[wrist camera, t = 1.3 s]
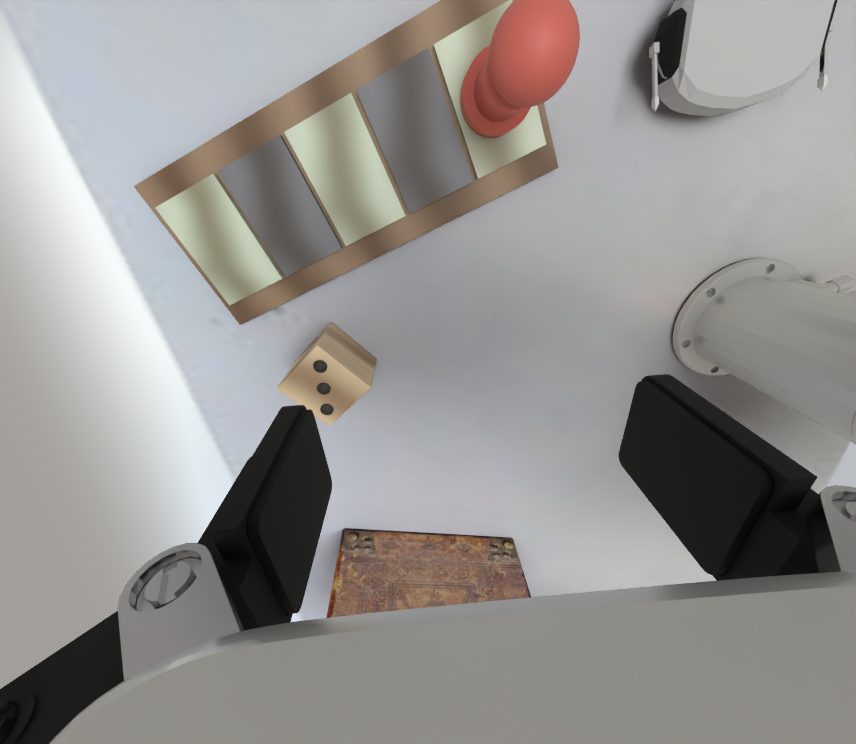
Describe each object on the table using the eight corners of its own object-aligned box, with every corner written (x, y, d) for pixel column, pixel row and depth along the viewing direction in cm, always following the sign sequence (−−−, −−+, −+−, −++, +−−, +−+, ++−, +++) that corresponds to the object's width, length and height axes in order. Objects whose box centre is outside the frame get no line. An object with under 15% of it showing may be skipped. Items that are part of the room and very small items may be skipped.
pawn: (515, 38, 24) (591, -74, 14) (534, 118, 26) (612, 71, 16) (449, 75, 25) (477, -6, 15) (474, 150, 27) (512, 124, 17)
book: (341, 567, 53) (272, 947, 26) (343, 527, 48) (263, 932, 22) (498, 574, 55) (581, 922, 29) (513, 537, 51) (625, 904, 25)
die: (331, 321, 34) (316, 345, 29) (376, 359, 36) (370, 388, 31) (295, 360, 36) (275, 389, 30) (340, 393, 38) (329, 427, 33)
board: (507, -35, 23) (512, -48, 22) (554, 168, 29) (561, 166, 28) (140, 186, 28) (128, 186, 27) (243, 322, 34) (237, 327, 32)
